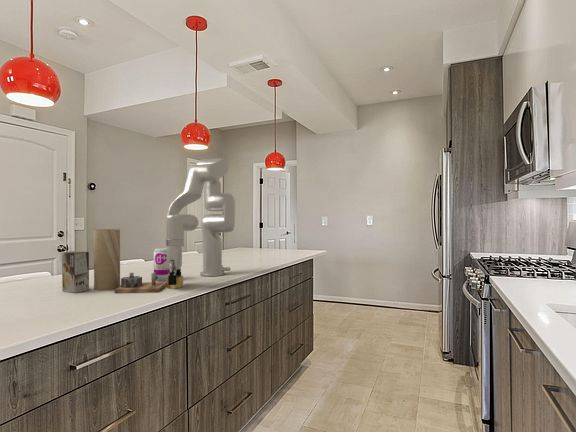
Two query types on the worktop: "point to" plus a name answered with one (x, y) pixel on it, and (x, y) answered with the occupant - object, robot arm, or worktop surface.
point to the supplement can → (160, 264)
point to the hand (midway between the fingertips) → (175, 282)
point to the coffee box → (75, 271)
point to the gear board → (139, 285)
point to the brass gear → (179, 282)
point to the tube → (106, 259)
